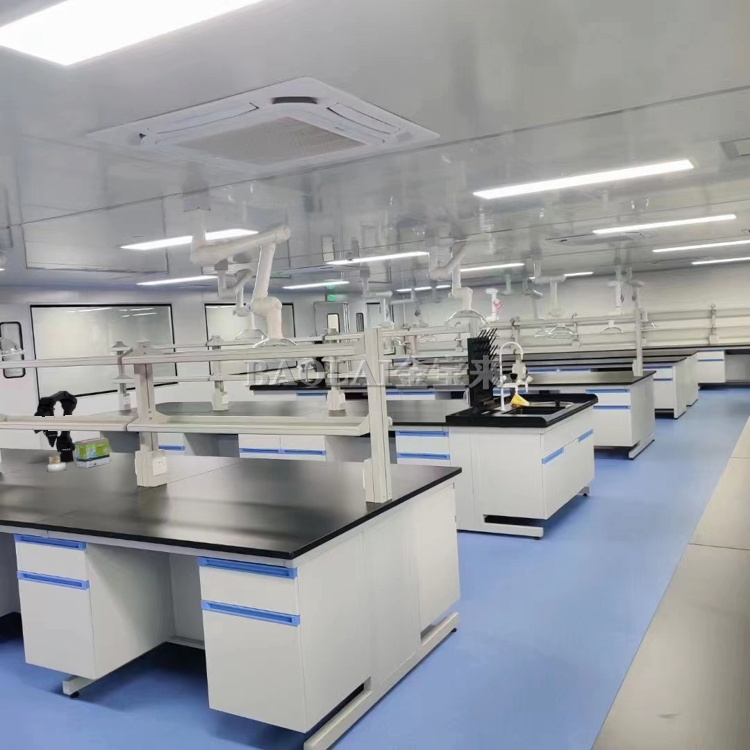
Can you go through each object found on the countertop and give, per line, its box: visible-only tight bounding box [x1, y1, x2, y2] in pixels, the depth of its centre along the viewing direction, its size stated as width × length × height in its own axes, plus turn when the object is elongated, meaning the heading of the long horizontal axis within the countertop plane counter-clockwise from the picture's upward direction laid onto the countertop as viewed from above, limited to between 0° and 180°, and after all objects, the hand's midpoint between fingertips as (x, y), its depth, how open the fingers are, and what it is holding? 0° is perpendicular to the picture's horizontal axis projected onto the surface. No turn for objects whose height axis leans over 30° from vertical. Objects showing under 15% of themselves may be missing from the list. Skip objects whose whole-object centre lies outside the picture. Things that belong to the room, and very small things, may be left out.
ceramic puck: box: [47, 461, 67, 474], centre depth 367 cm, size 9×9×4 cm
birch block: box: [48, 455, 61, 464], centre depth 377 cm, size 5×5×6 cm
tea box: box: [74, 437, 111, 469], centre depth 377 cm, size 15×10×15 cm, turn 148°
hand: (51, 446), depth 377 cm, fingers open, 9 cm apart
